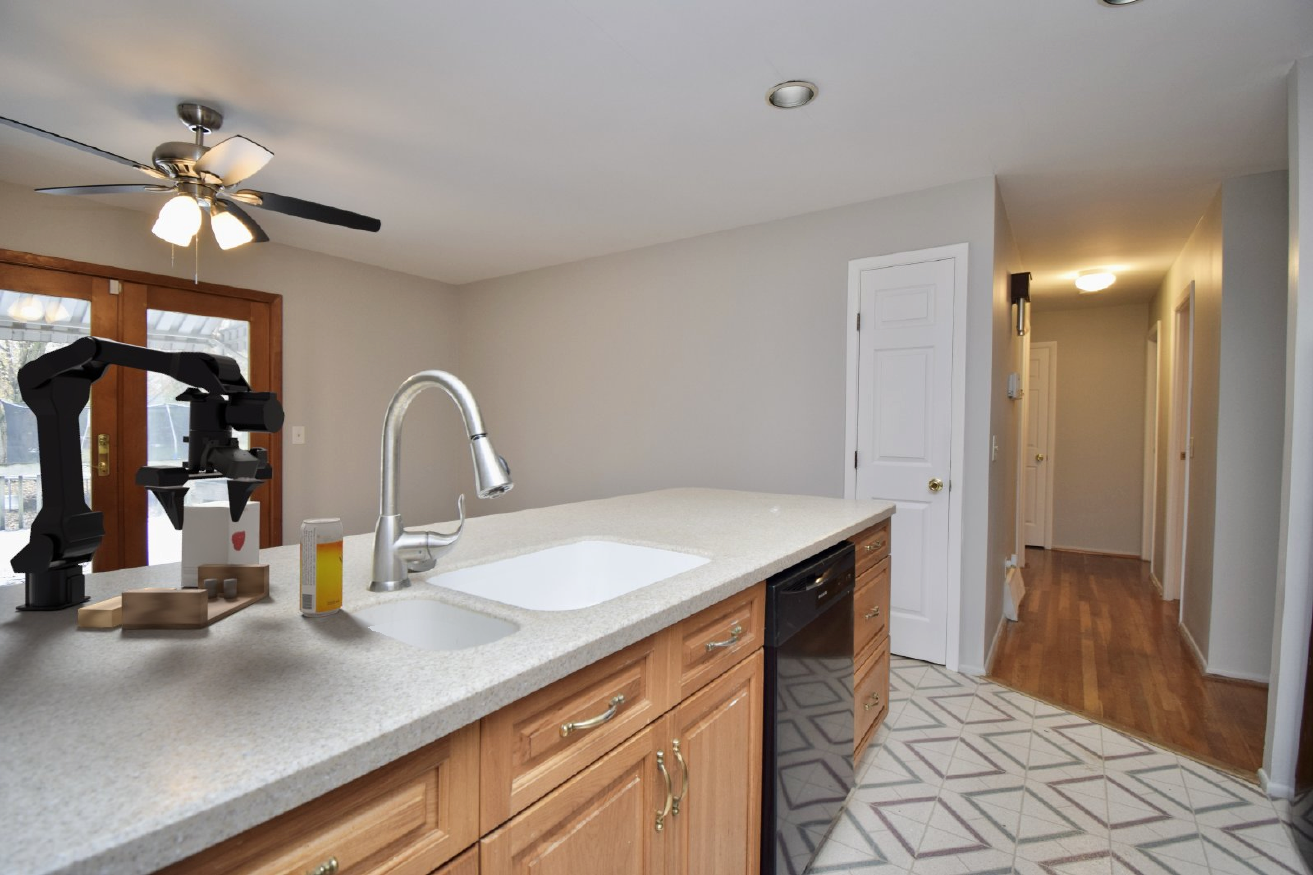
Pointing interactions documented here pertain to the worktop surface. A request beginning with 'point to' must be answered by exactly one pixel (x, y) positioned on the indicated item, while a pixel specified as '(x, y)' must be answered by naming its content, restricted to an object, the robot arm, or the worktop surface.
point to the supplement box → (217, 537)
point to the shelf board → (103, 613)
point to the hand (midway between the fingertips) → (208, 525)
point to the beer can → (321, 566)
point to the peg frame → (196, 598)
